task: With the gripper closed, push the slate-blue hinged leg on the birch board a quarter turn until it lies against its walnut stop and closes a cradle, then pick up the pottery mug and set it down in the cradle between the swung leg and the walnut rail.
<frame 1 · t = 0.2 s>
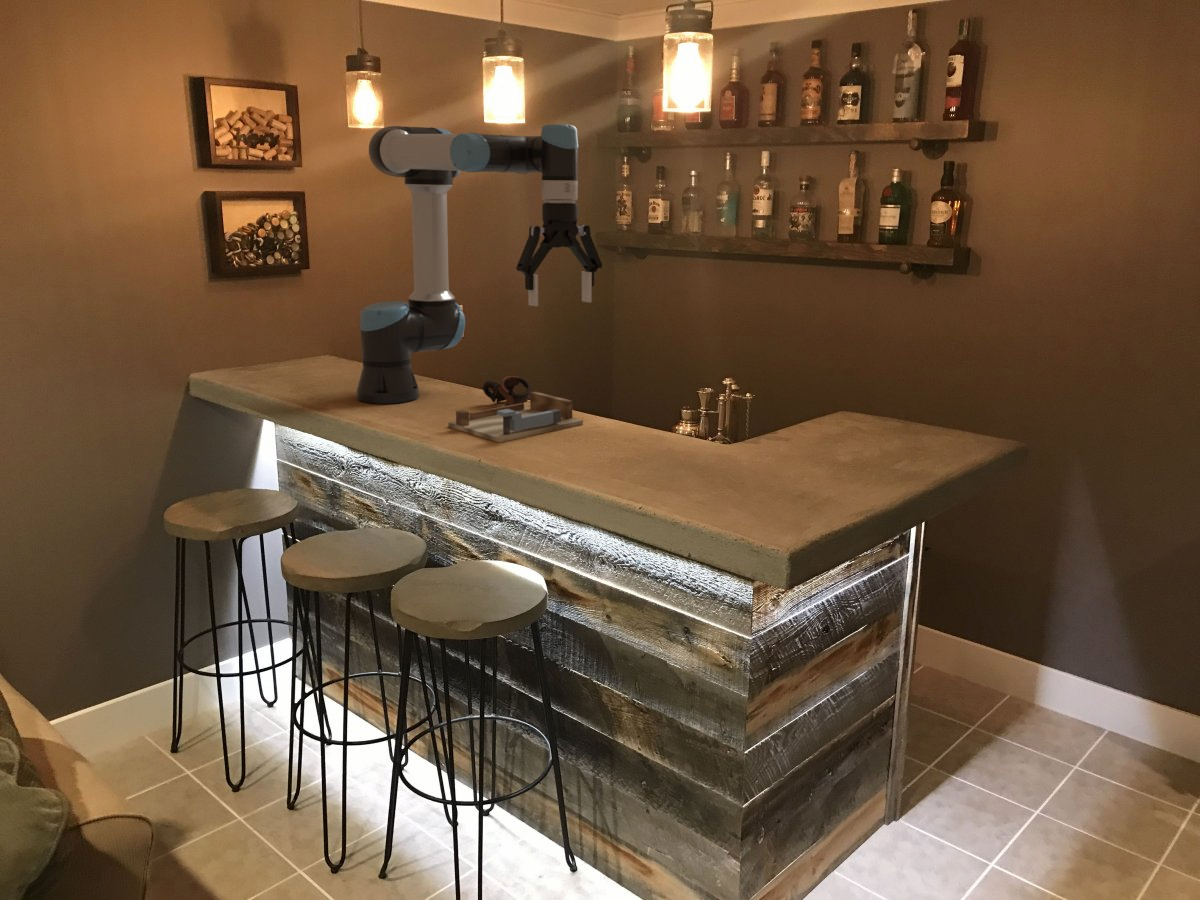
hand: (560, 303, 209), 27 cm above the bar counter, fingers open, 13 cm apart
leg: (530, 416, 209), point 4 cm above the bar counter, hinge at 0.0°
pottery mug: (507, 406, 236), on the bar counter
board: (516, 425, 216), on the bar counter
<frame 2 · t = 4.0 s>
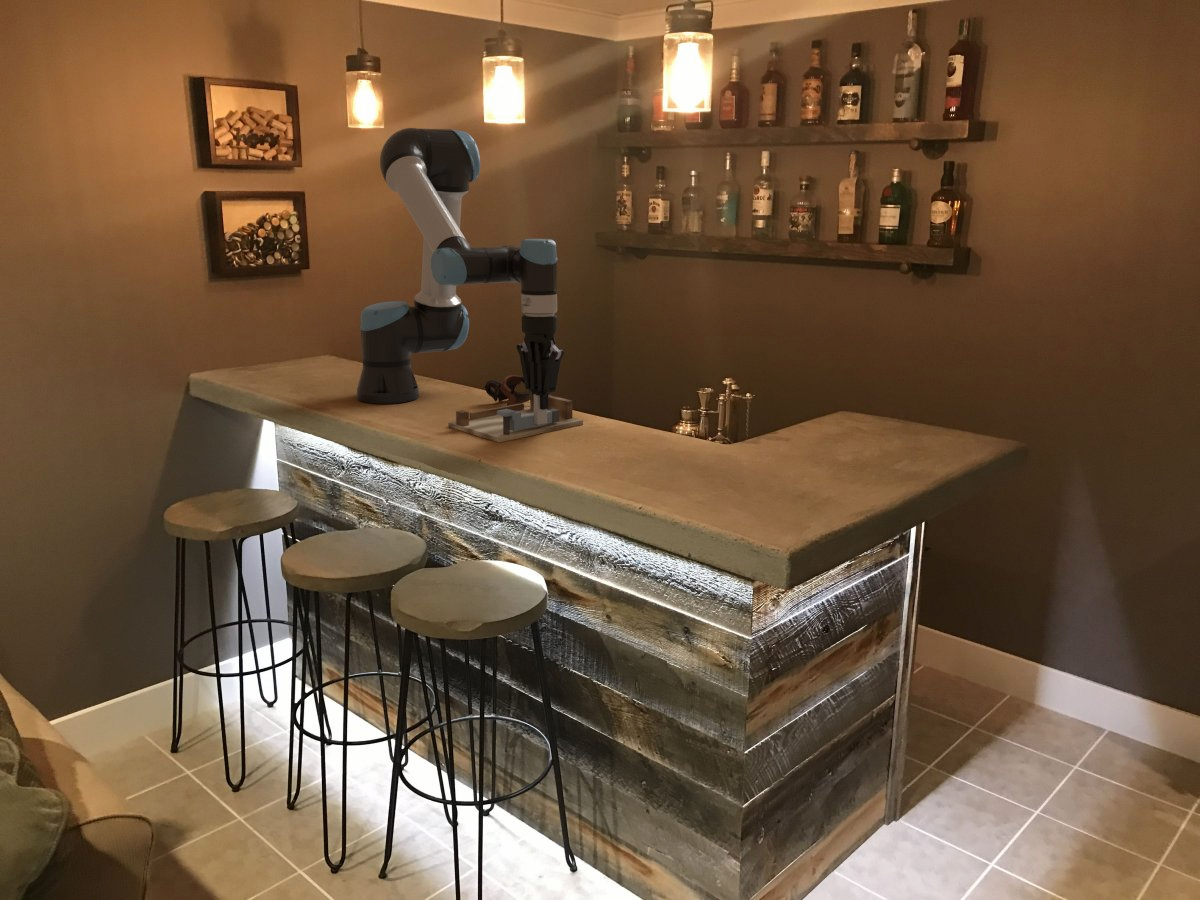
hand: (540, 423, 210), 2 cm above the bar counter, fingers closed
leg: (529, 416, 209), point 4 cm above the bar counter, hinge at 2.1°, touching gripper
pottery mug: (509, 405, 237), on the bar counter
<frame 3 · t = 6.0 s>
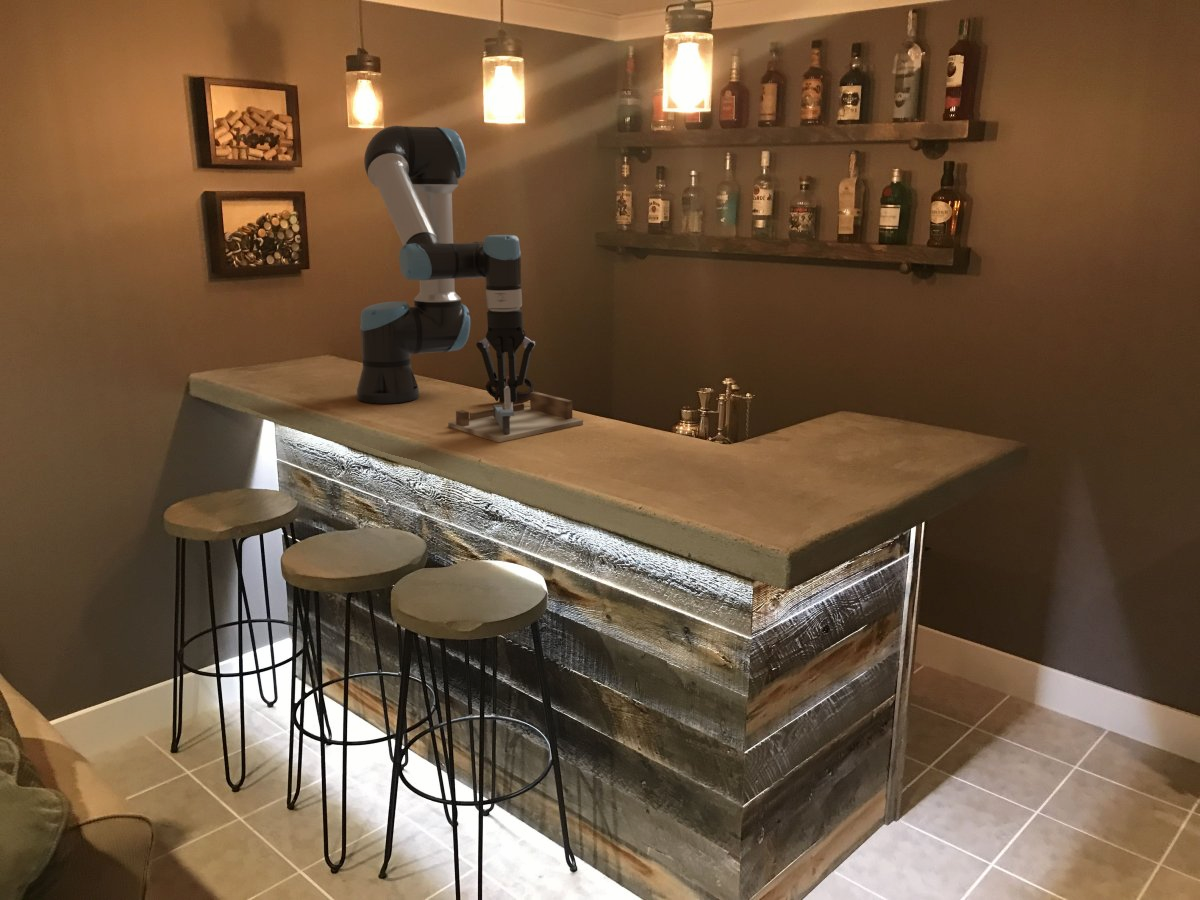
hand: (509, 416, 213), 3 cm above the bar counter, fingers closed
leg: (502, 414, 211), point 4 cm above the bar counter, hinge at 59.4°, touching gripper
everything else where it was.
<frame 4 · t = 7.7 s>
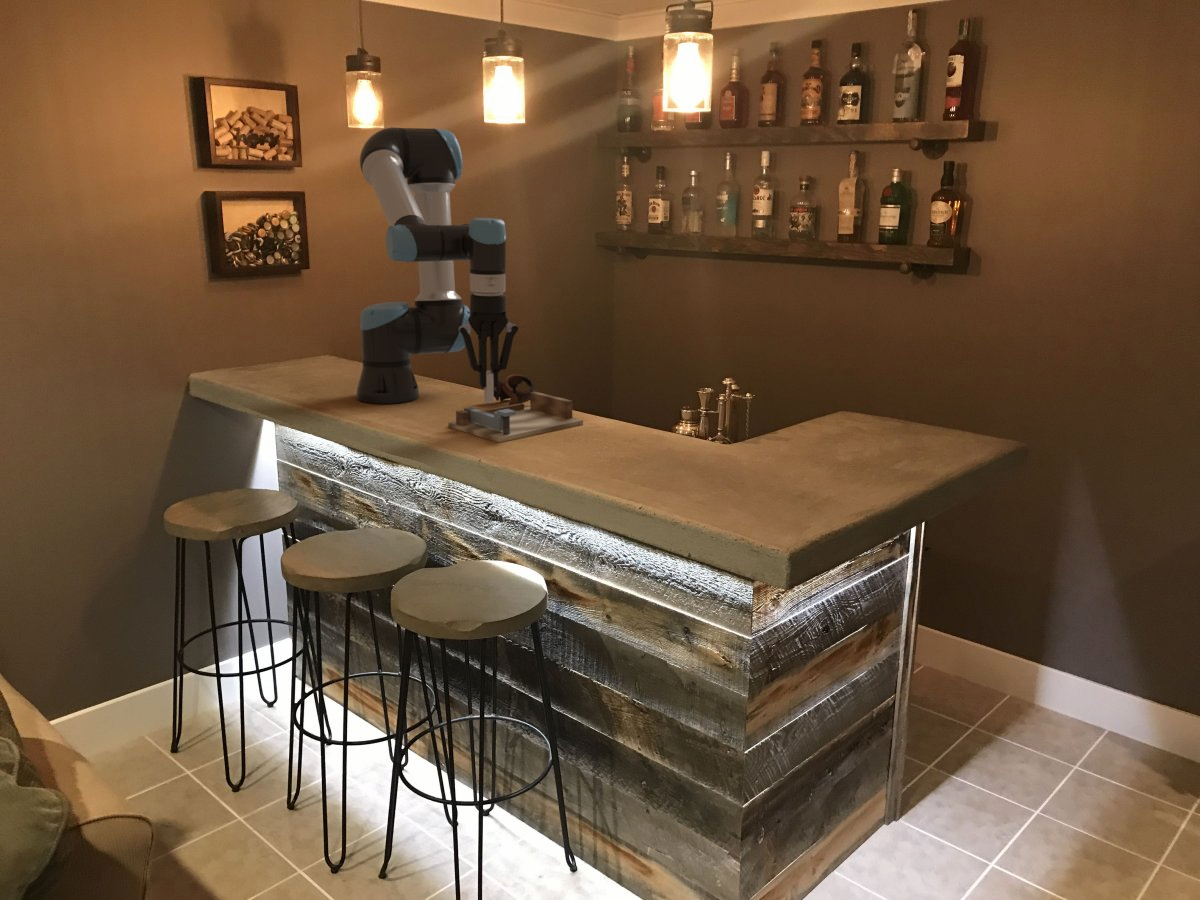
hand: (488, 401, 212), 6 cm above the bar counter, fingers closed
leg: (488, 415, 209), point 4 cm above the bar counter, hinge at 87.3°
everything else where it was.
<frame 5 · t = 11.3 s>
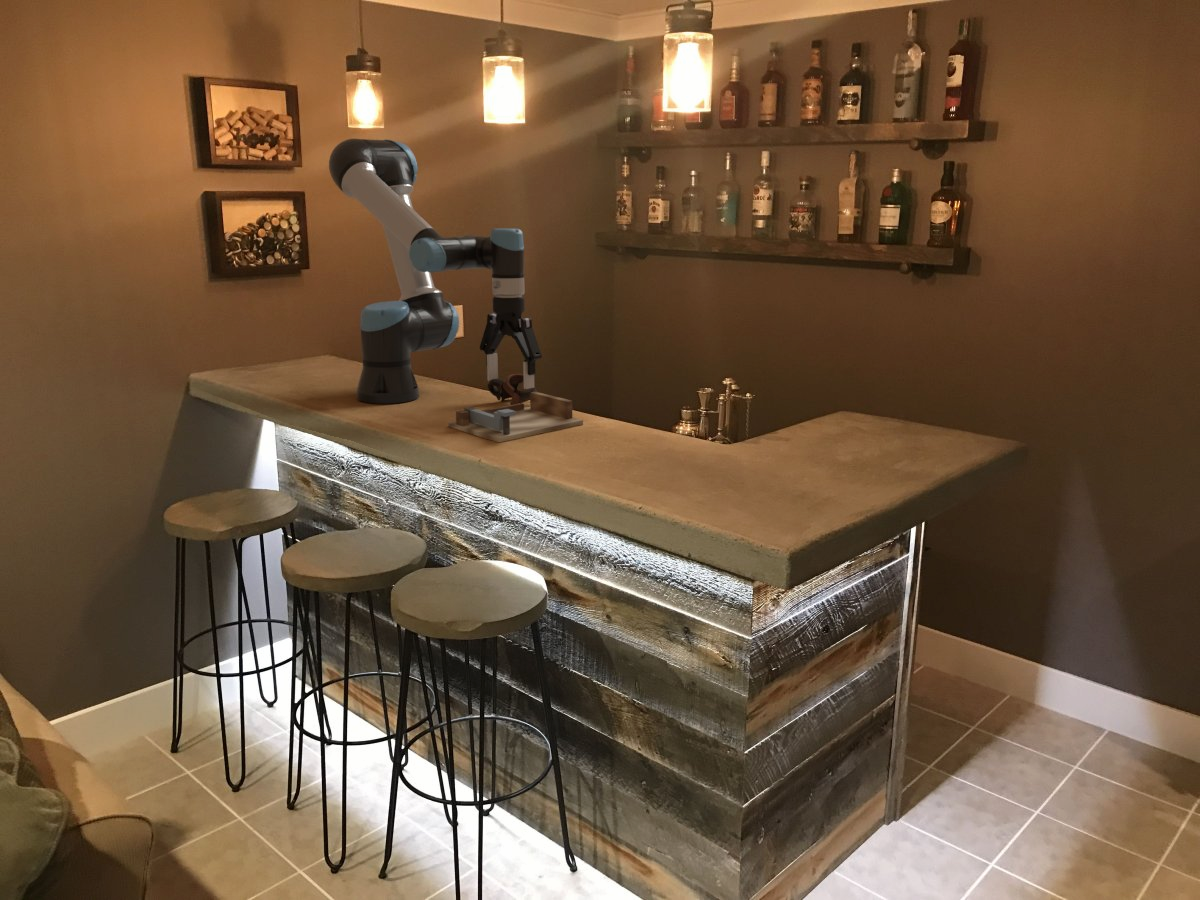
hand: (510, 384, 233), 5 cm above the bar counter, fingers open, 13 cm apart
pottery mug: (512, 404, 238), on the bar counter, touching gripper
everything else where it was.
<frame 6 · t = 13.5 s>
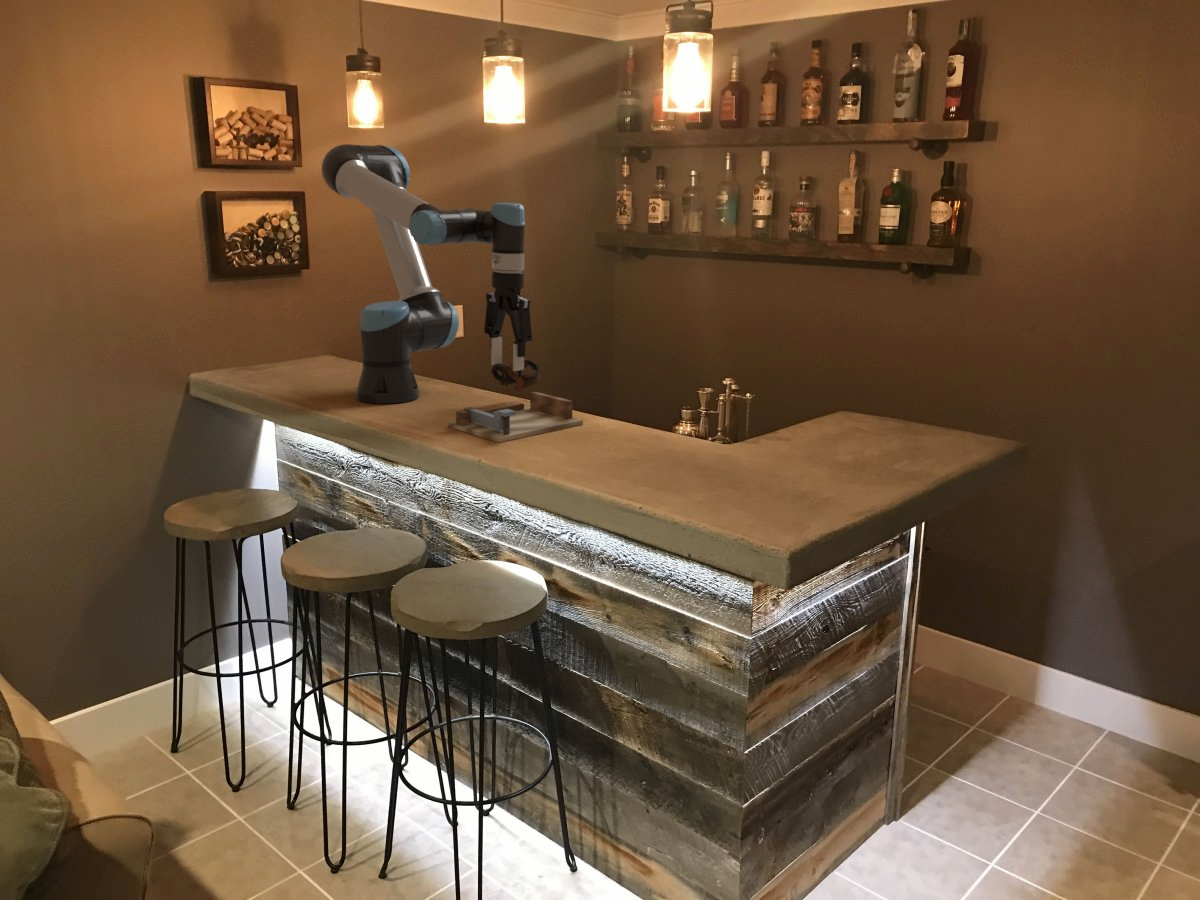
hand: (507, 367, 233), 10 cm above the bar counter, fingers closed on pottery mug, 8 cm apart
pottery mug: (516, 389, 236), point 4 cm above the bar counter, touching gripper
everything else where it was.
when the fingers open (7 cm above the bar counter, at t = 16.9 s): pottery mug stays where it is, resting on board.
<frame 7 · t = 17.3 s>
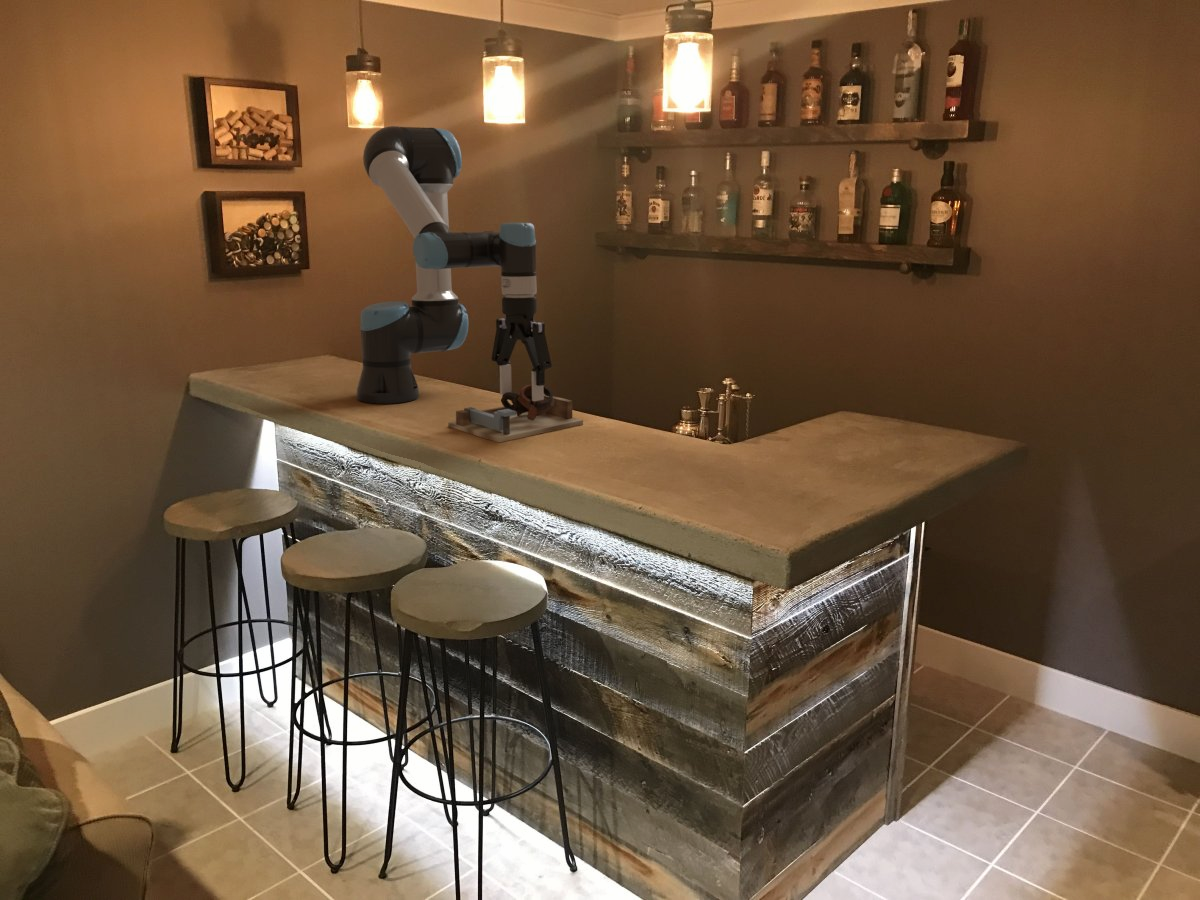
hand: (521, 396, 214), 7 cm above the bar counter, fingers open, 10 cm apart
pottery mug: (529, 418, 218), point 1 cm above the bar counter, touching board, gripper
everything else where it was.
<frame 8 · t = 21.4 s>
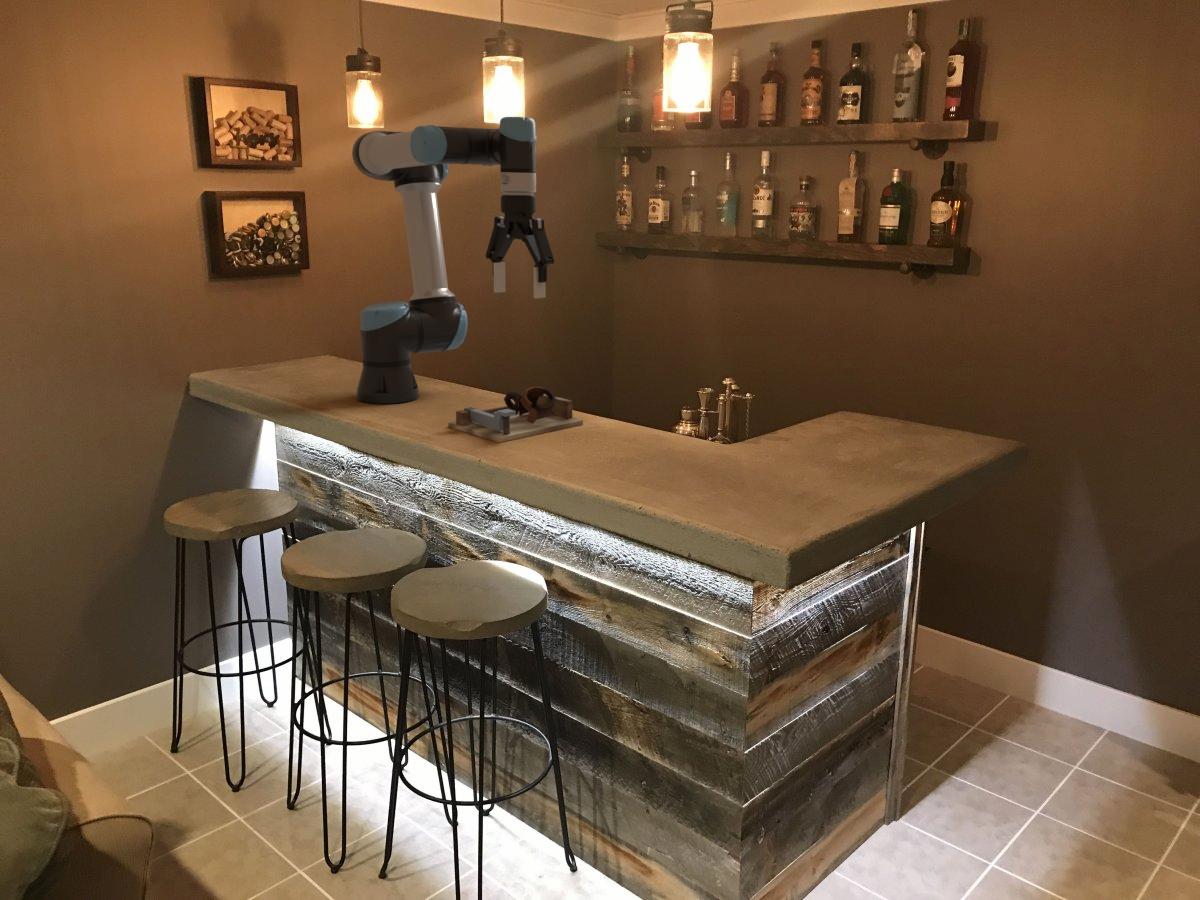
hand: (519, 295, 211), 29 cm above the bar counter, fingers open, 13 cm apart
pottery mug: (530, 419, 219), point 1 cm above the bar counter, touching board
everything else where it was.
at the end: leg at +87° (first picture: +0°); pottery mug inside the target area (2.9 cm from its centre), point 0.8 cm above the bar counter; the gripper is holding nothing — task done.
